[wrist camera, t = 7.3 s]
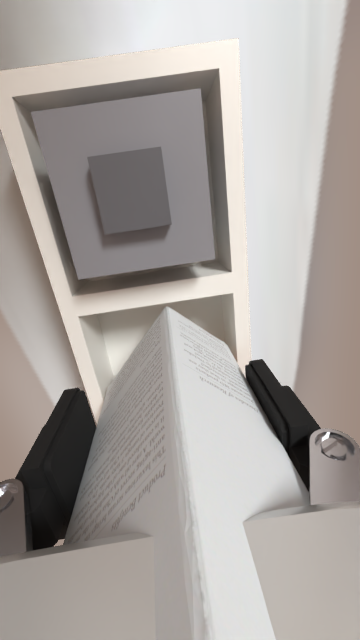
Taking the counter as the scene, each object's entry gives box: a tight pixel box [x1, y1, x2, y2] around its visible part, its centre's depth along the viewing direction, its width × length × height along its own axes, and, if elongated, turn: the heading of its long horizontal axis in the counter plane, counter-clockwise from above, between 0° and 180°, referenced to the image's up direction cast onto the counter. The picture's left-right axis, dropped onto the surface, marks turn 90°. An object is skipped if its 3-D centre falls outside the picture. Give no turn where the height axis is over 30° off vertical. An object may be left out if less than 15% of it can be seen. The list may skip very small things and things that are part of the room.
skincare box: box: [63, 306, 310, 640], centre depth 9 cm, size 6×4×12 cm
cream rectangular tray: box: [0, 38, 251, 424], centre depth 14 cm, size 18×9×4 cm, turn 8°
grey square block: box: [31, 88, 215, 280], centre depth 11 cm, size 6×6×5 cm
